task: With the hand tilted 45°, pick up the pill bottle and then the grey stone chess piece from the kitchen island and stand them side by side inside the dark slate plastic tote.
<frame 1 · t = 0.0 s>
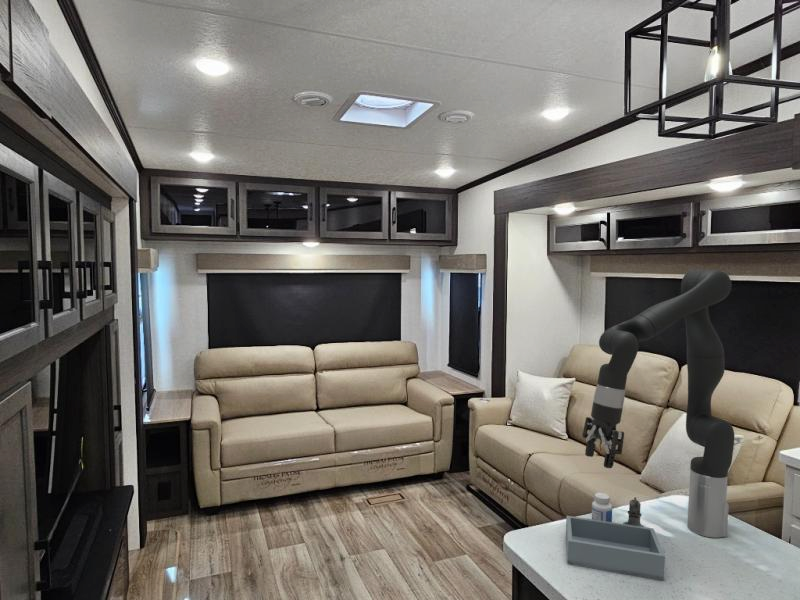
hand: (598, 461, 138), 22 cm above the kitchen island, tool pointing down, fingers open, 8 cm apart
grey stone chess piece: (633, 540, 140), on the kitchen island
tote: (611, 556, 131), on the kitchen island
pill bottle: (601, 529, 146), on the kitchen island
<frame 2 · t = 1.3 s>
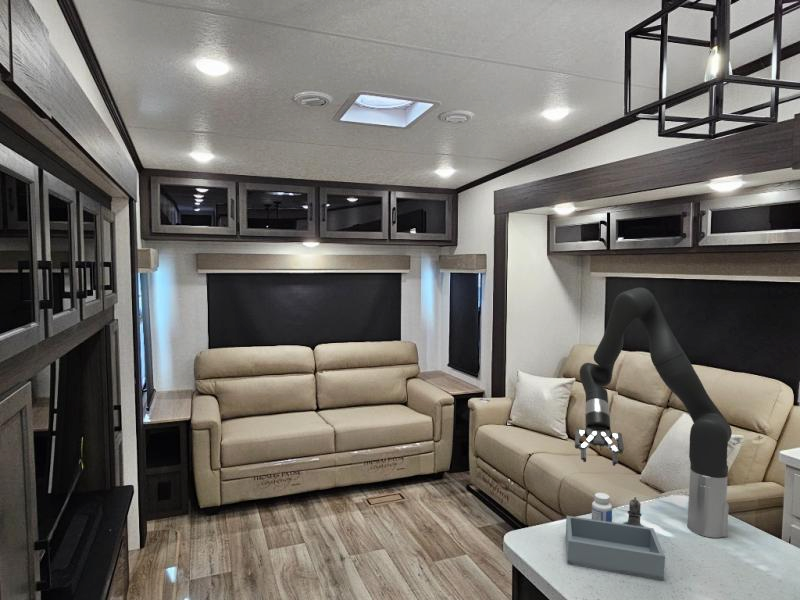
hand: (599, 462, 156), 15 cm above the kitchen island, tool tilted 45°, fingers open, 8 cm apart
nothing on the kitchen island moved.
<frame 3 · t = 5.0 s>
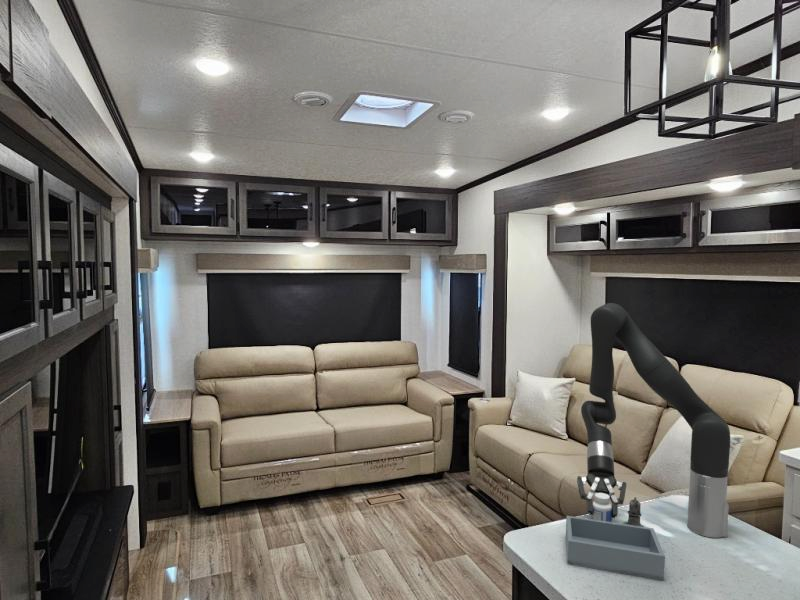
hand: (602, 515, 144), 5 cm above the kitchen island, tool tilted 45°, fingers closed on pill bottle, 5 cm apart
pill bottle: (601, 529, 146), on the kitchen island, touching gripper
everything else where it was.
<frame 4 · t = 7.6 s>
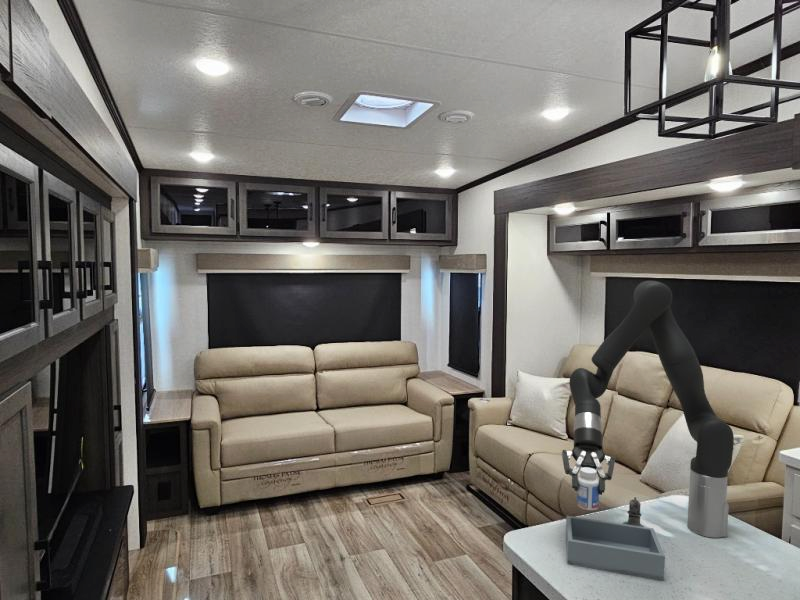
hand: (588, 491, 132), 17 cm above the kitchen island, tool tilted 45°, fingers closed on pill bottle, 5 cm apart
pill bottle: (587, 506, 134), point 12 cm above the kitchen island, touching gripper
everything else where it was.
when the fingers open (7 cm above the kitchen island, at t = 10.0 s): pill bottle drops 1 cm, resting on tote.
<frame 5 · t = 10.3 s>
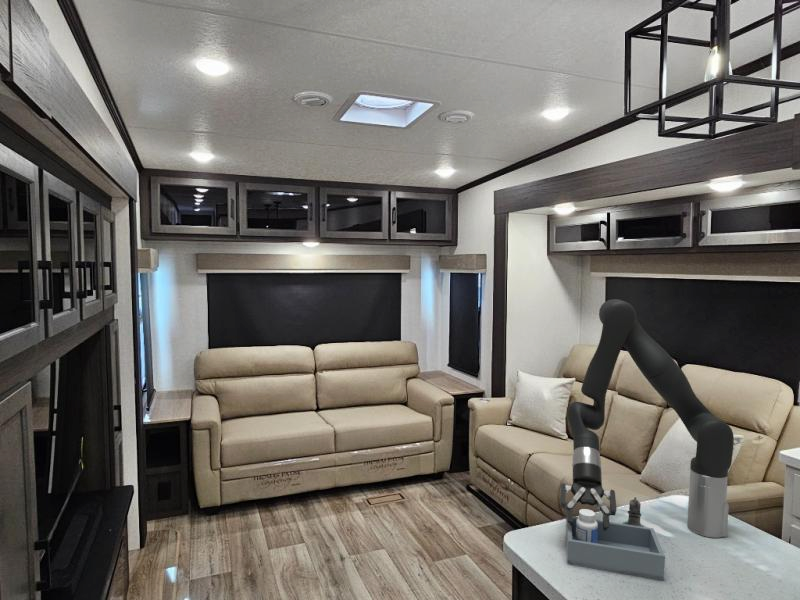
hand: (588, 527, 131), 8 cm above the kitchen island, tool tilted 45°, fingers open, 8 cm apart
pill bottle: (586, 549, 133), point 1 cm above the kitchen island, touching tote
everything else where it was.
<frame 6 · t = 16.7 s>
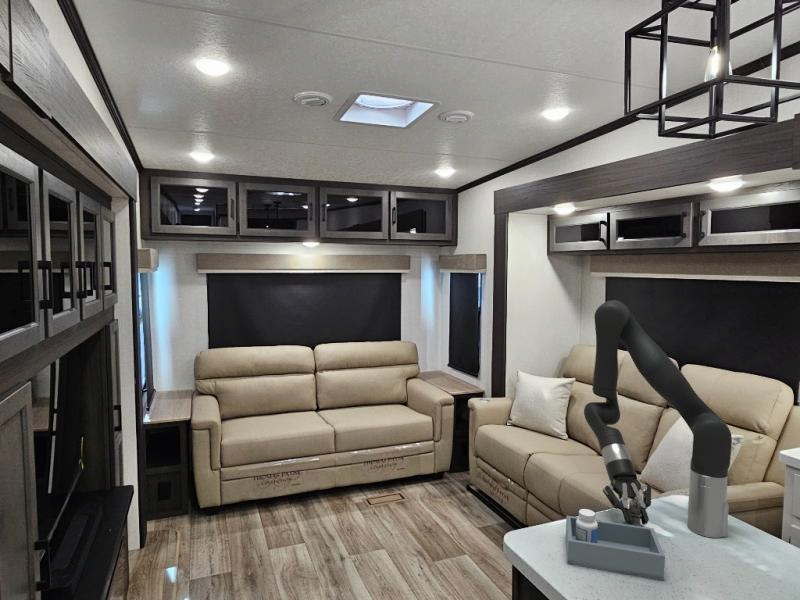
hand: (638, 523, 138), 6 cm above the kitchen island, tool tilted 45°, fingers closed on grey stone chess piece, 3 cm apart
grey stone chess piece: (633, 540, 140), on the kitchen island, touching gripper
everything else where it was.
when the fingers open (8 cm above the kitchen island, at t = 21.1 s): grey stone chess piece drops 1 cm, resting on tote.
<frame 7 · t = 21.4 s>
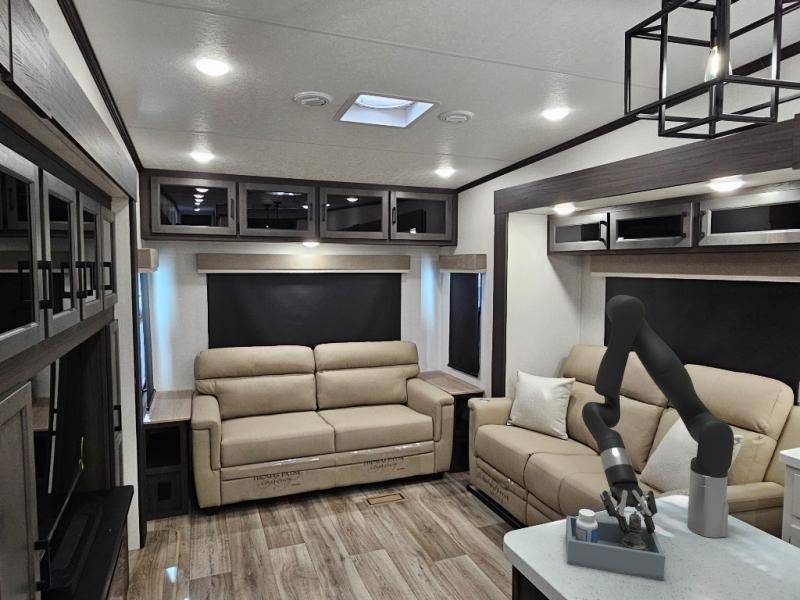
hand: (639, 532, 128), 8 cm above the kitchen island, tool tilted 45°, fingers open, 6 cm apart
grey stone chess piece: (633, 557, 130), point 1 cm above the kitchen island, touching tote
everything else where it was.
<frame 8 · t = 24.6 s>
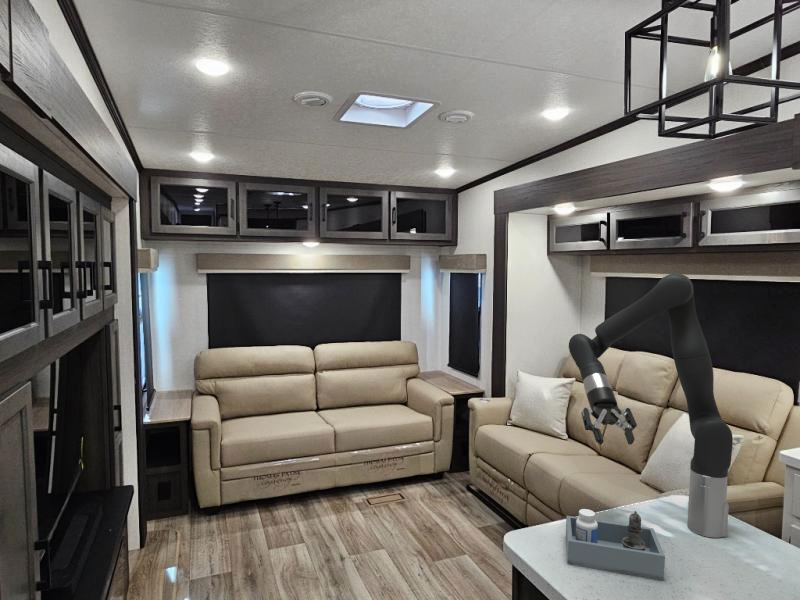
hand: (616, 443, 140), 27 cm above the kitchen island, tool tilted 45°, fingers open, 8 cm apart
nothing on the kitchen island moved.
at the end: pill bottle inside the target area (6.1 cm from its centre), point 0.8 cm above the kitchen island; grey stone chess piece inside the target area (5.3 cm from its centre), point 0.8 cm above the kitchen island; grey stone chess piece tilted 0° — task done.
